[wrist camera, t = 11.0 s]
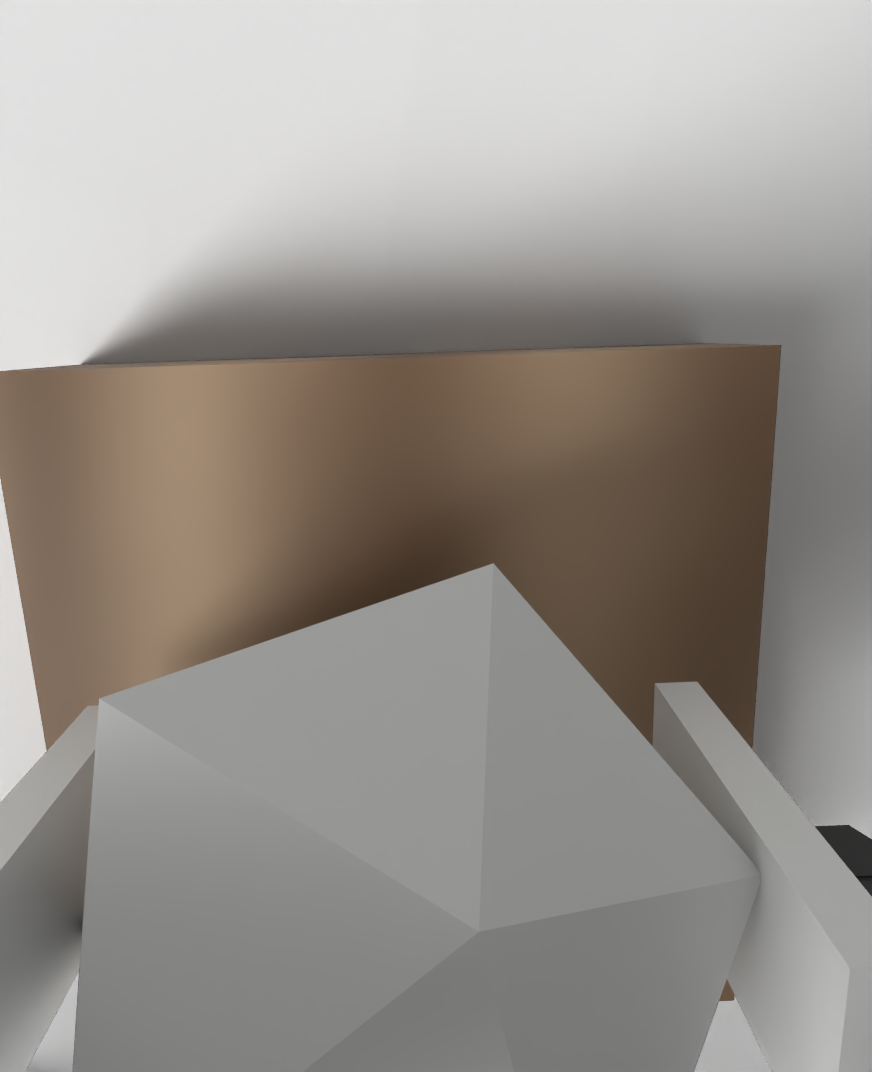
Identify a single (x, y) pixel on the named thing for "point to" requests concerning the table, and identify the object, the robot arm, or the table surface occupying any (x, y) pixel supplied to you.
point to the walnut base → (394, 507)
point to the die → (398, 859)
